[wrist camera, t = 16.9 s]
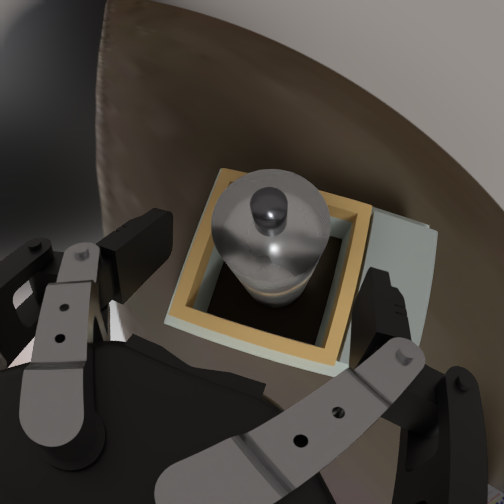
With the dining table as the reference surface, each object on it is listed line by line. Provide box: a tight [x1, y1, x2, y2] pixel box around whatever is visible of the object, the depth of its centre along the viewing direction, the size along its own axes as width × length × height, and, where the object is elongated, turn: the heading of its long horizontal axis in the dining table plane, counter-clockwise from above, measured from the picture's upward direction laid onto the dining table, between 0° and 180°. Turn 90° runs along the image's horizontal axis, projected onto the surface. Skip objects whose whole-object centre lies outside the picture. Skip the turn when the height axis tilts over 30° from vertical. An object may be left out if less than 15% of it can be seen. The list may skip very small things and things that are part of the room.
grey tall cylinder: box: [211, 169, 331, 308], centre depth 15 cm, size 4×4×12 cm
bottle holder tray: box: [164, 168, 438, 377], centre depth 19 cm, size 15×11×5 cm
